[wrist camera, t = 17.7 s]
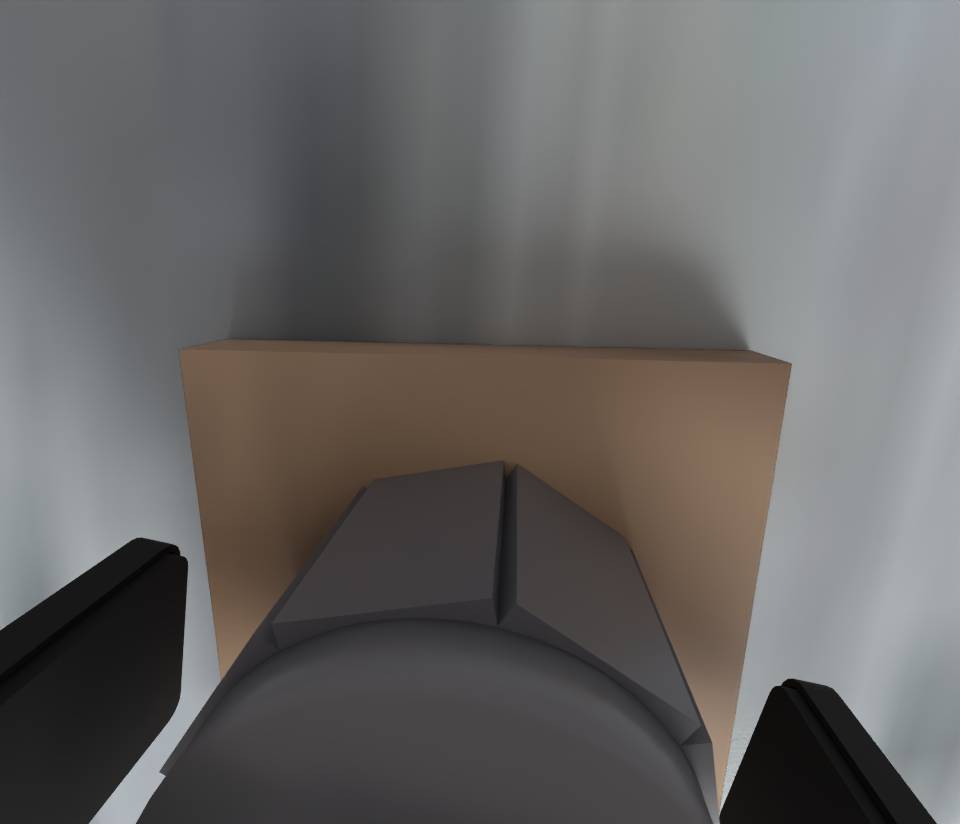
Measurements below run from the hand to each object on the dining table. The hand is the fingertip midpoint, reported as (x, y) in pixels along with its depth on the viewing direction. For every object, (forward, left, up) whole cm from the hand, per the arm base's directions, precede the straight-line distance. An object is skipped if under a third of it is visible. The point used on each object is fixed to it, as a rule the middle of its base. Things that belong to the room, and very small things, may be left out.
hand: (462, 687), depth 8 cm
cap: (0, 0, -2) cm, 2 cm away
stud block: (0, 0, -3) cm, 3 cm away
